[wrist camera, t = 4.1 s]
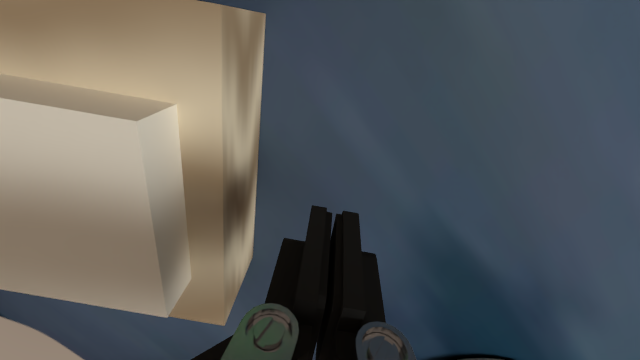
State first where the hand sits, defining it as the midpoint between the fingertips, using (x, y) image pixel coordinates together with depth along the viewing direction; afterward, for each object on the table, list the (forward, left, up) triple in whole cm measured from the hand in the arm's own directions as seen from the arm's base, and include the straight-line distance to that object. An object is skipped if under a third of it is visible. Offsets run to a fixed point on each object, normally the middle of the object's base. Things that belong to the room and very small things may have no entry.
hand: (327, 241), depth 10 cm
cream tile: (0, +9, -1) cm, 9 cm away
